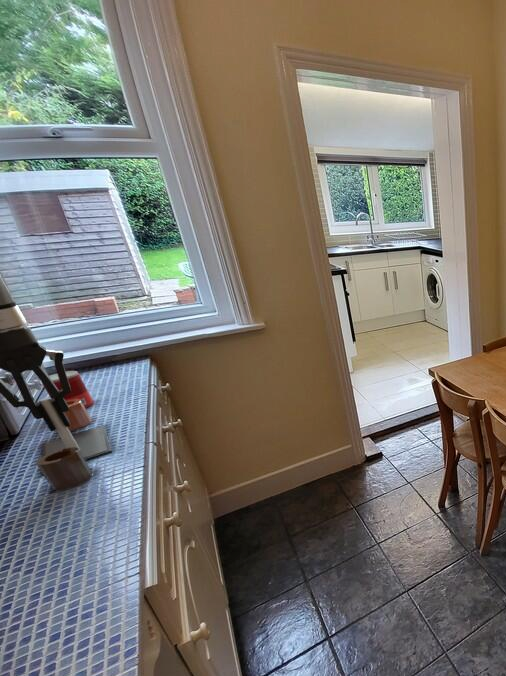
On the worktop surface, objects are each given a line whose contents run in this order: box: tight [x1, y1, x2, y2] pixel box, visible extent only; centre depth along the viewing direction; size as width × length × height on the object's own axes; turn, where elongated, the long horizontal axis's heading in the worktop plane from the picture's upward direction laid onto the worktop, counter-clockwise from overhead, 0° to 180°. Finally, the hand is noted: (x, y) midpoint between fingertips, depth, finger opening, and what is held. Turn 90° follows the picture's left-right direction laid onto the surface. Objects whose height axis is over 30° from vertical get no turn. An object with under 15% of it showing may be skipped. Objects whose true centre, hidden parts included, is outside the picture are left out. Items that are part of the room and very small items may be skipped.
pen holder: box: [64, 399, 93, 432], centre depth 113 cm, size 6×6×7 cm
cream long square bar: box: [38, 397, 80, 451], centre depth 95 cm, size 2×2×15 cm
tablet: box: [40, 424, 113, 477], centre depth 103 cm, size 20×12×1 cm, turn 47°
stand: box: [35, 447, 94, 491], centre depth 89 cm, size 6×6×7 cm
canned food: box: [41, 370, 94, 409], centre depth 123 cm, size 8×8×11 cm
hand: (60, 426), depth 95 cm, fingers closed on cream long square bar, 2 cm apart
